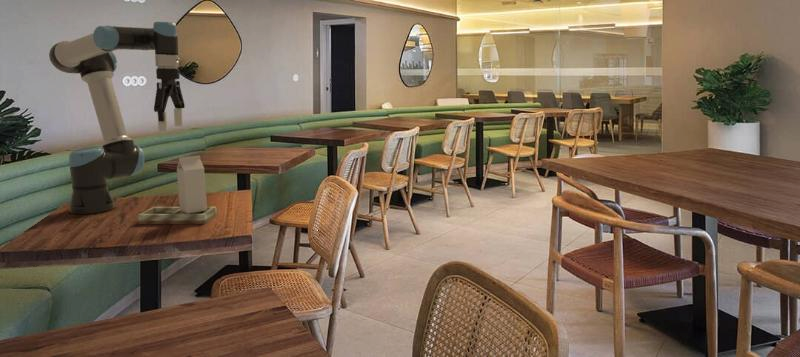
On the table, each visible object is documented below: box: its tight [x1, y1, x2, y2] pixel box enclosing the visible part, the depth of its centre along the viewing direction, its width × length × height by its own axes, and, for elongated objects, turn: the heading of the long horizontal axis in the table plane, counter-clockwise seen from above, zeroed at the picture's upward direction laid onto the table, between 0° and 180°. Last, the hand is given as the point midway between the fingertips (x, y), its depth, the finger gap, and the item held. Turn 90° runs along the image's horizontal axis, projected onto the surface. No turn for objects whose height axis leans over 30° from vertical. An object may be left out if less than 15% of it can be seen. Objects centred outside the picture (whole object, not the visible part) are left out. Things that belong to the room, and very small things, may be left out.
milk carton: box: [176, 155, 208, 213], centre depth 206 cm, size 7×7×19 cm
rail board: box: [137, 206, 218, 225], centre depth 209 cm, size 23×12×3 cm, turn 88°
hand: (171, 128), depth 212 cm, fingers open, 13 cm apart
